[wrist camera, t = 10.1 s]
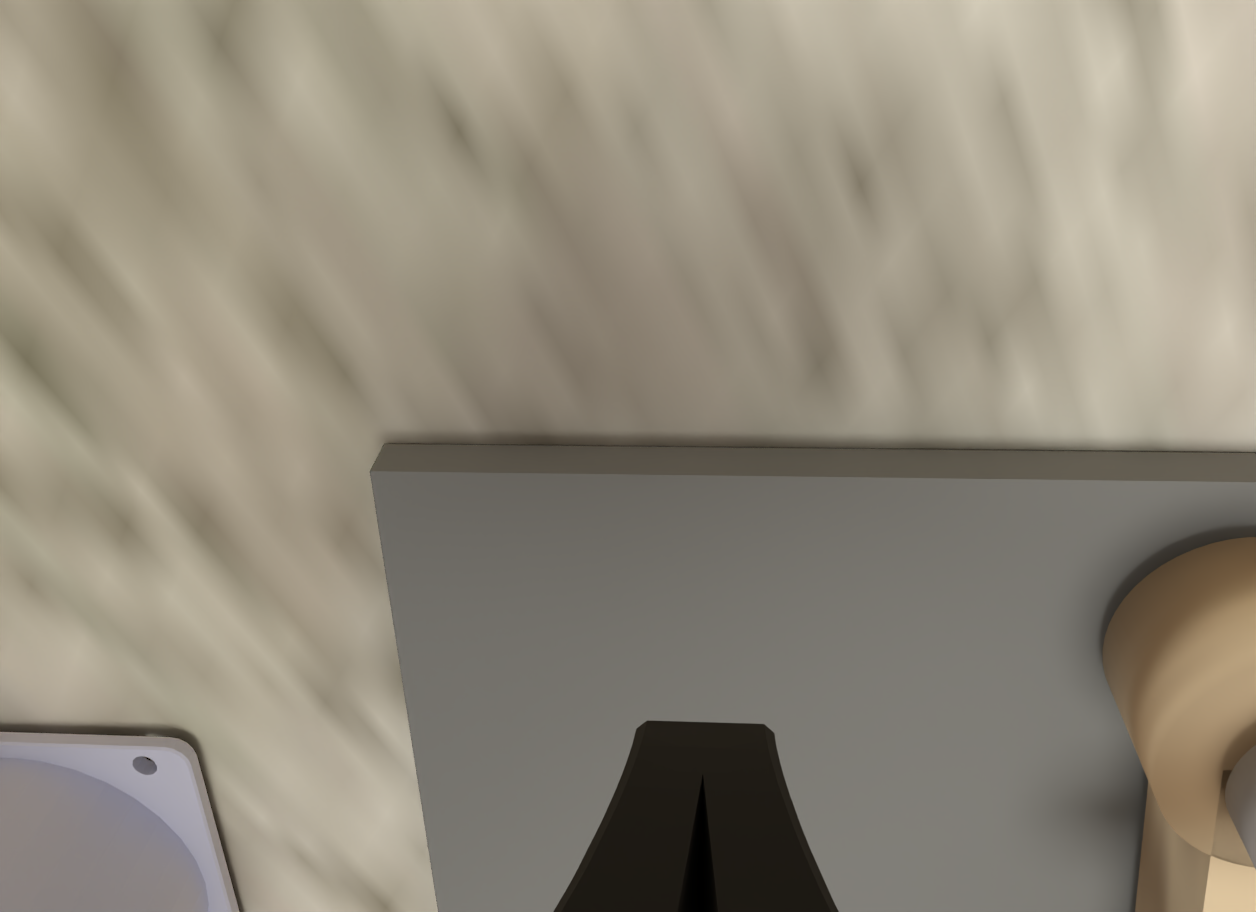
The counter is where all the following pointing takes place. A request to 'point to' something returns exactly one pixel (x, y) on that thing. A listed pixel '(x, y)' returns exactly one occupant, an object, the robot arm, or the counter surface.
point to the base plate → (793, 652)
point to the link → (1190, 720)
